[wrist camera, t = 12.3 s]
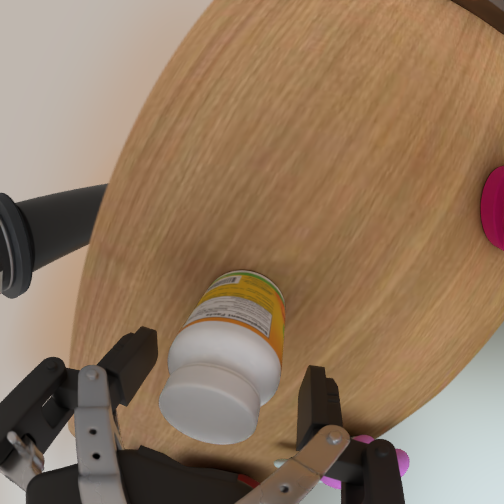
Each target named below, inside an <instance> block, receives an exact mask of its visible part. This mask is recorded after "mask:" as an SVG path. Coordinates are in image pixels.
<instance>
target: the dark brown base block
mask: <svg viewBox="0 0 504 504" xmlns="http://www.w3.org/2000/svg"><path fill="white" fill-rule="evenodd" d="M452 1H453V2H455V3H457V4H459V5H460V6H462V7H464V8H466V9H467V10H469V11H470V12H472V13H474V14H475V15H477V16H478V17H480V18H481V19H483V20H484V21H486V22H487V23H489V24H490V25H492V26H493V27H494V28H496V29H497V30H498V31H500V32H501V33H502V34H504V0H452Z"/></svg>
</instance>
